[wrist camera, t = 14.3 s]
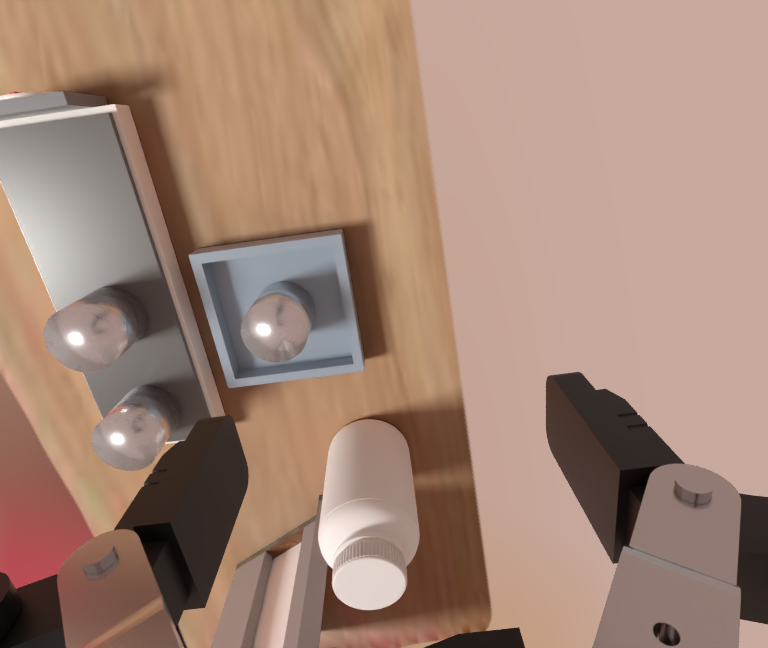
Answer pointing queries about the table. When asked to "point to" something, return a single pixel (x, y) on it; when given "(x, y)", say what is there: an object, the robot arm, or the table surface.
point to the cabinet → (277, 594)
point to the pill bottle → (369, 514)
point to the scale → (104, 238)
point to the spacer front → (278, 322)
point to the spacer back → (136, 428)
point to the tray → (270, 265)
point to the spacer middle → (96, 329)
